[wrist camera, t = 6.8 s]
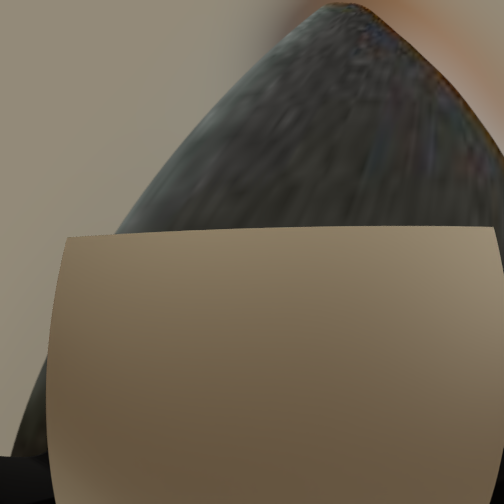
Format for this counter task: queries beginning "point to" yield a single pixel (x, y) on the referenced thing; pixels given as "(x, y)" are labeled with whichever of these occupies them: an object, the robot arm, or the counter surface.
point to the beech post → (278, 367)
